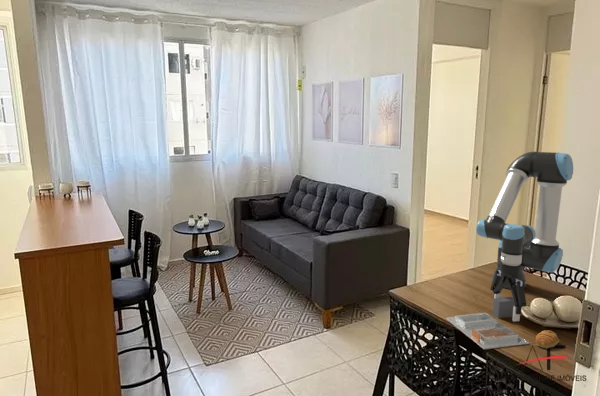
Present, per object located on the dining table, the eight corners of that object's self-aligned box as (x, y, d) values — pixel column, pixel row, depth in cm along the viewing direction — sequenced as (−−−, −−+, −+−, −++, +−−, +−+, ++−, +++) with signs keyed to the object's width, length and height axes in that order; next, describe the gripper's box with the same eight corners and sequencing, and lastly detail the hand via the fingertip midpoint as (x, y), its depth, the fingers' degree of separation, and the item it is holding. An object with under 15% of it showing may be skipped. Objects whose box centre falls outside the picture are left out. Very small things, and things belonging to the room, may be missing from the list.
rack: (485, 314, 174) (486, 306, 173) (528, 343, 151) (529, 334, 150) (446, 318, 170) (446, 310, 169) (484, 349, 147) (484, 339, 146)
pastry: (551, 352, 145) (552, 342, 145) (530, 345, 150) (531, 335, 150) (559, 343, 152) (560, 333, 151) (539, 336, 157) (540, 326, 156)
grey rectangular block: (513, 312, 176) (515, 296, 175) (519, 315, 173) (521, 299, 172) (492, 314, 174) (493, 298, 173) (498, 318, 171) (499, 301, 170)
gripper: (483, 255, 180) (479, 303, 184) (523, 273, 158) (518, 328, 161) (499, 253, 182) (495, 302, 185) (540, 272, 159) (535, 326, 163)
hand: (505, 314), depth 173 cm, fingers open, 11 cm apart
